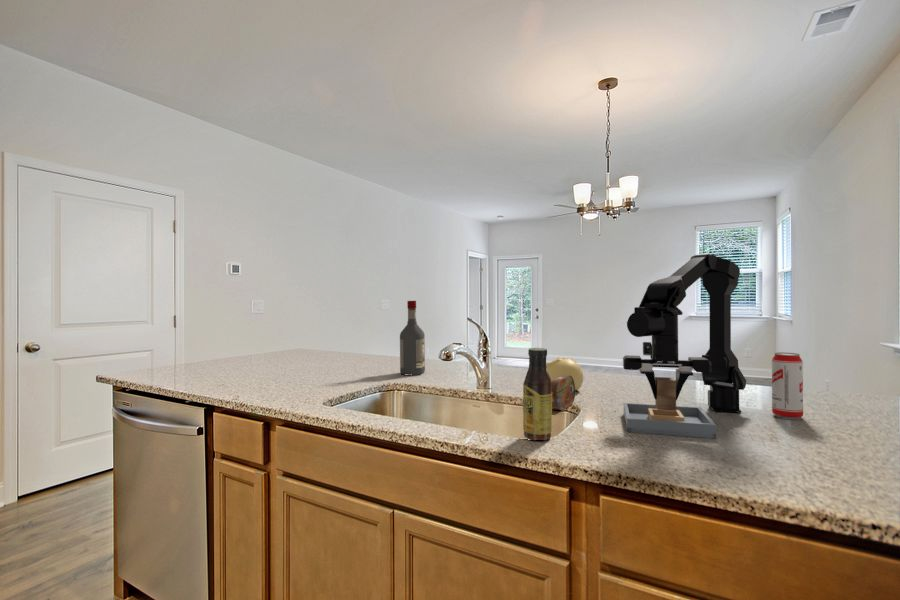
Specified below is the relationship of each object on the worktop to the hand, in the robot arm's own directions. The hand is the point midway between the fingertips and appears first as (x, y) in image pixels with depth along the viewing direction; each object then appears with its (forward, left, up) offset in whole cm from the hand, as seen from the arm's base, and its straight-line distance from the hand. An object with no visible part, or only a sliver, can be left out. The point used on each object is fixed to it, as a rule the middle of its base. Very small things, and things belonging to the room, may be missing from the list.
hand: (665, 399), depth 107 cm
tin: (+25, -12, -6) cm, 28 cm away
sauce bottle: (+28, +18, -6) cm, 34 cm away
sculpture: (+26, -35, -6) cm, 44 cm away
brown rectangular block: (0, 0, -2) cm, 2 cm away
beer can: (-30, -16, -6) cm, 35 cm away
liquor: (+88, -52, -6) cm, 102 cm away
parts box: (0, 0, -6) cm, 6 cm away
